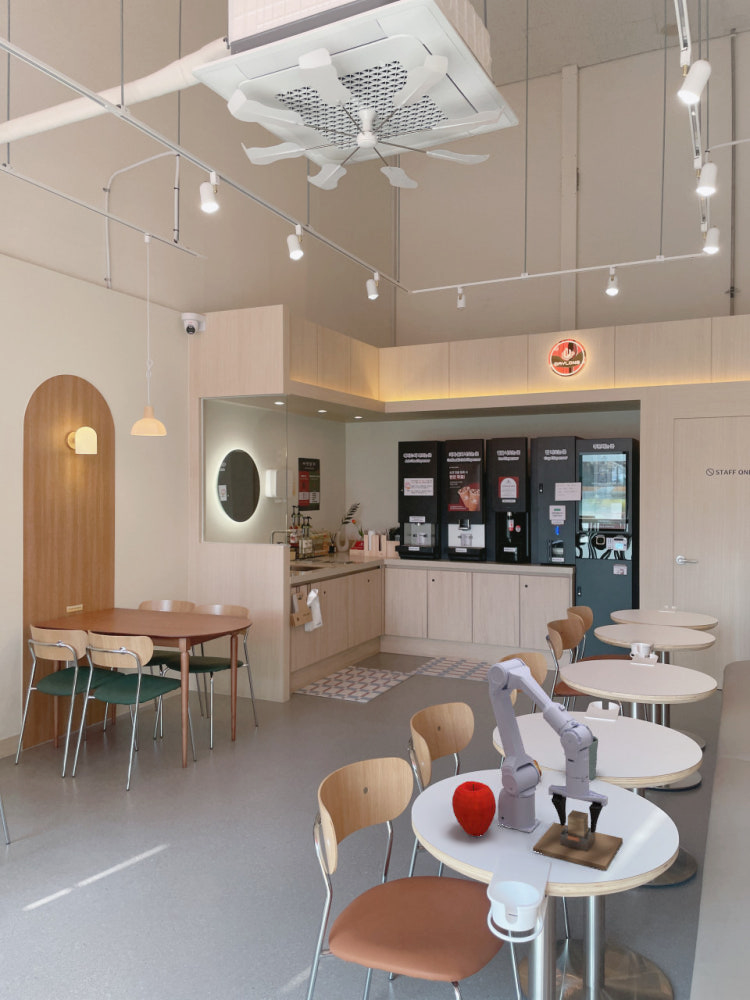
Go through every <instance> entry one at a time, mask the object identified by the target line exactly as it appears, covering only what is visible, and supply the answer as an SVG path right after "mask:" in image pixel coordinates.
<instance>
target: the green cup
mask: <svg viewBox="0 0 750 1000" xmlns="http://www.w3.org/2000/svg"><path fill="white" fill-rule="evenodd" d="M598 746H599V739H598V737H597V736H594V735H593V742H592V744H591V745H590V746H589V747H587V748H589V780H592V781H594V780H595V779H596V778H597V761H598Z"/></svg>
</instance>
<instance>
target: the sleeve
mask: <svg viewBox="0 0 750 1000" xmlns="http://www.w3.org/2000/svg"><path fill="white" fill-rule="evenodd" d="M566 825H567V826H566V827H565V829H564V830H563V831H562V832H561V846H565V847H570V848H574V849H578V850H582V851H586V852H588V851H589V849H590V848H591V846H592V845H593V844H594V842H595V841H596V837H595V832H596V831H595V832H594V833H591V829H590V828H591V827H589V826H588V833H587V835H586V836H585V837H581V836H577V835H573V834H569V833H568V824H566Z"/></svg>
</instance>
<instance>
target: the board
mask: <svg viewBox="0 0 750 1000" xmlns="http://www.w3.org/2000/svg"><path fill="white" fill-rule="evenodd" d="M567 825H568V824H565V825H564V826H561V824H560V823H559V822H553V823H552V824H551V825H550V827H549V828H548V829H547V830H546V832H544V834H543V835H542V836H541V837H540V838H539V840H538V841H537V842H536V844H534V845H533V847H532V852H533V851H536V852H539V853H542V854H544V855H543V856H545V855H546V857H550V858H554V859H557V860H561V861H565V862H569V863H573V864H577V865H581V866H583V867H584V866H585V867H588V866H589V868H592V867H594V868H593V869H596V868H598V869H597V870H600V869H601V871H603V870H605V871H604V872H606V871H607V870H606V869H608V868H609V867H610V864H611V863H612V861H613V859H614V858H615V857H616V855H617V853H618V852H619V850H620V848H621V846H622V845H623V842H624V840H623V839H624V838H623V837H619V836H615V835H610V834H607V833H606V834H605V833H601V832H598V831H595V837H596V841H595V842H594V844H593V845H592V846H591V848H590V849H589V851H588V852H586V851H582V850H578V849H574V848H570V847H565V846H561V832H562V831H563V830H564V829H565V827H566V826H567ZM617 851H618V852H617Z"/></svg>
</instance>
